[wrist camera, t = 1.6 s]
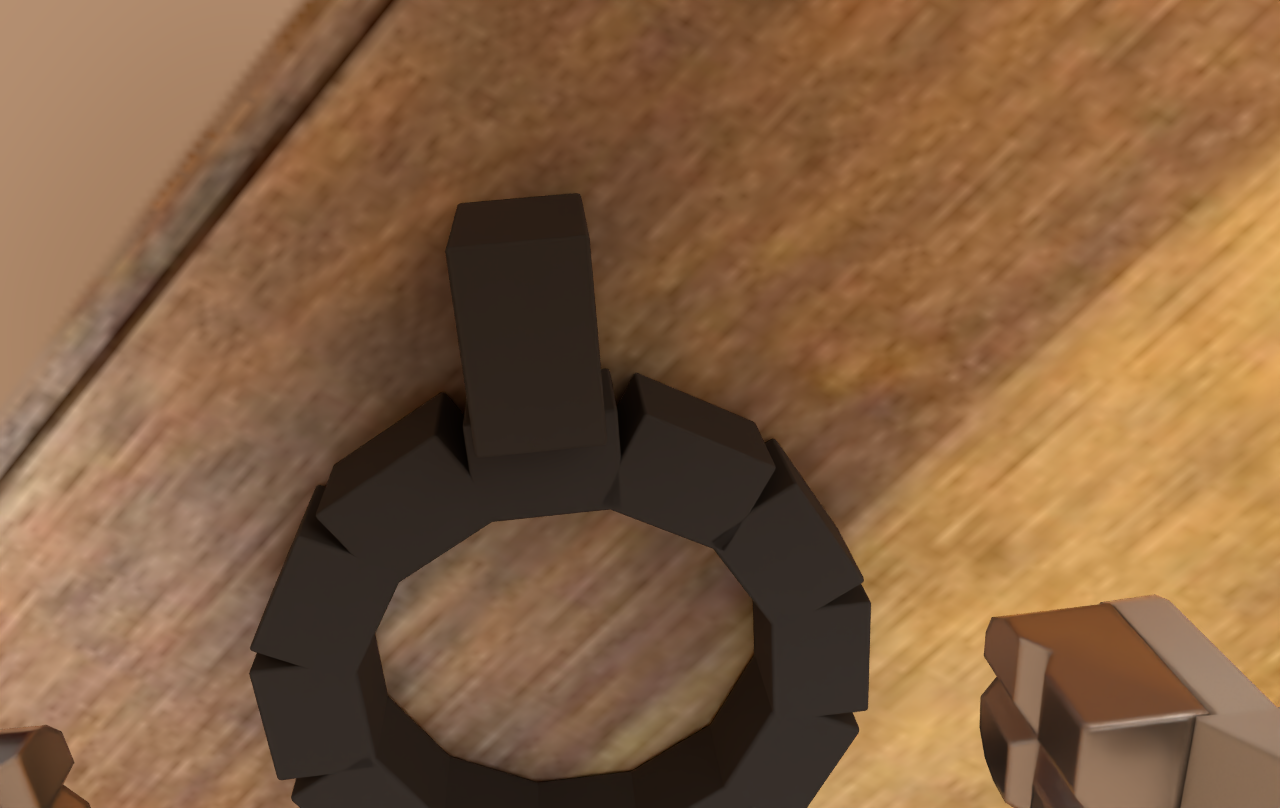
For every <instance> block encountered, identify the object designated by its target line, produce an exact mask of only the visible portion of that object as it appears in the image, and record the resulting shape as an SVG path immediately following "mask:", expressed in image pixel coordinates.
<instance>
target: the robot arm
mask: <svg viewBox="0 0 1280 808" xmlns="http://www.w3.org/2000/svg"><path fill="white" fill-rule="evenodd" d="M984 657H985V658H986V660H987V662H988V663H989V665H990V666H991V668H992V669H993V671H994V673H995V674H996V676H997V677H996V678H995V679H994V681H993V682H992V683H991V684H990V686H989V687H988V688H987V689H986V690H985V692H984V693H983V694H982V695H981V703H980V732H981V738H982V744H983V750H984V756H985V759H986V762H987V765H988V768H989V770H990V773H991V776H992V779H993V781H994V783H995V785H996V786H997V788H998V790H999V792H1000V794H1001V796H1002V798H1003V799H1004V801H1005V803H1007V804H1009V805H1010V806H1012V807H1014V808H1280V707H1276V706H1275V705H1274V704H1273V703H1272V702H1271V701H1270V700H1269V699H1268V698H1267V697H1266V696H1265V695H1264V694H1263V693H1262V692H1261V691H1260V690H1259V689H1258V688H1257V687H1256V686H1255V685H1254V684H1253V683H1252V682H1251V681H1250V680H1249V679H1248V678H1247V677H1246V676H1245V675H1244V674H1243V673H1242V672H1241V671H1240V670H1239V669H1238V668H1237V667H1236V666H1235V665H1234V664H1233V663H1232V662H1231V661H1230V660H1229V659H1228V658H1227V657H1226V656H1225V655H1224V654H1223V653H1222V652H1221V651H1220V650H1219V649H1218V648H1217V647H1216V646H1215V645H1214V644H1213V643H1212V642H1211V641H1210V640H1209V639H1208V638H1207V637H1206V636H1205V635H1204V634H1203V633H1201V632H1200V631H1199V630H1198V629H1197V628H1196V627H1195V626H1194V625H1193V624H1192V623H1191V622H1190V621H1189V620H1188V619H1187V618H1186V617H1185V616H1184V615H1183V614H1182V613H1181V612H1180V611H1179V610H1178V609H1177V608H1176V607H1175V606H1174V605H1173V604H1172V603H1171V602H1170V601H1169V600H1167V599H1165V598H1162V597H1160V596H1157V595H1148V596H1141V597H1134V598H1127V599H1120V600H1113V601H1106V602H1101V603H1100V604H1099V605H1090V606H1082V607H1074V608H1065V609H1057V610H1049V611H1040V612H1032V613H1024V614H1016V615H1007V616H999V617H992V618H991V621H990V623H989V626H988V628H987V631H986V636H985V648H984ZM73 764H74V760H73V758H72V755H71V753H70V750H69V748H68V746H67V743H66V741H65V738H64V736H63V734H62V732H61V731H59V730H57V729H54V728H52V727H50V726H48V725H41V726H30V727H19V728H9V729H0V808H91V807H90V805H89V803H88V802H87V801H86V800H84V799H83V798H81V797H80V796H78V795H77V794H76V793H74V792H73V791H71V790H70V789H69V788H67V787H66V786H64V785H63V784H64V782H65V780H66V778H67V776H68V774H69V772H70V770H71V768H72V766H73Z"/></svg>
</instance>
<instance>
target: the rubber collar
mask: <svg viewBox="0 0 1280 808" xmlns="http://www.w3.org/2000/svg"><path fill="white" fill-rule="evenodd" d="M445 253H446V260H447V266H448V273H449V280H450V287H451V294H452V301H453V308H454V314H455V321H456V328H457V335H458V342H459V349H460V356H461V362H462V369H463V376H464V383H465V390H466V397H467V399H466V406H465V414H464V415H463V414H462V413H461V411H460V410H459V409H458V408H457V407H456V405H455V404H454V403H453V402H452V401H451V400H450V398H449V397H448V396H447V395H446V394H445V393H444V392H442V393H440V394H438V395H437V396H435V397H434V398H432V399H431V400H429V401H428V402H426V403H425V404H423V405H422V406H420V407H419V408H418V409H416V410H415V411H413V412H412V413H410V414H409V415H407V416H406V417H404V418H403V419H401V420H400V421H398V422H397V423H395V424H394V425H393V426H391V427H390V428H388V429H387V430H385V431H384V432H382V433H381V434H379V435H378V436H376V437H375V438H373V439H372V440H370V441H369V442H368V443H366V444H365V445H363V446H362V447H360V448H359V449H357V450H356V451H354V452H353V453H351V454H350V455H348V456H347V457H345V458H344V459H342V460H341V461H340V462H338V463H337V464H335V465H334V467H333V469H332V472H331V475H330V477H329V480H328V483H327V485H326V487H324V486H321V485H317V486H316V488H315V490H314V493H313V495H312V498H311V500H310V502H309V505H308V507H307V510H306V512H305V514H304V517H303V519H302V521H301V524H300V526H299V529H298V531H297V533H296V536H295V538H294V541H293V543H292V545H291V548H290V550H289V553H288V555H287V557H286V560H285V562H284V564H283V567H282V569H281V572H280V574H279V576H278V579H277V581H276V584H275V586H274V588H273V591H272V593H271V596H270V598H269V601H268V603H267V606H266V609H265V611H264V614H263V616H262V619H261V621H260V624H259V626H258V629H257V631H256V634H255V636H254V639H253V642H252V644H251V647H250V649H251V651H254V652H257V654H256V657H255V659H254V662H253V664H252V667H251V670H250V673H249V674H250V678H251V682H252V685H253V689H254V693H255V697H256V700H257V704H258V708H259V711H260V715H261V719H262V722H263V726H264V730H265V734H266V737H267V741H268V745H269V748H270V752H271V756H272V760H273V763H274V767H275V771H276V774H277V778H278V779H279V780H286V779H294V778H296V781H295V785H294V789H293V792H292V796H291V799H292V801H293V802H294V803H295V804H297V805H298V806H299V807H300V808H807V807H808V806H809V804H810V803H811V801H812V800H813V798H814V797H815V795H816V794H817V792H818V791H819V790H820V788H821V787H822V785H823V784H824V782H825V781H826V779H827V778H828V776H829V775H830V773H831V772H832V771H833V769H834V768H835V766H836V765H837V763H838V762H839V760H840V759H841V757H842V756H843V755H844V753H845V752H846V750H847V749H848V747H849V746H850V744H851V743H852V741H853V740H854V739H855V737H856V736H857V734H858V732H859V727H858V724H857V722H856V720H855V717H854V715H853V712H858V711H866V710H867V709H868V690H869V655H870V620H871V602H870V600H869V598H868V596H867V594H866V592H865V591H864V589H863V587H862V585H861V583H862V582H863V581H864V579H863V576H862V574H861V572H860V570H859V568H858V566H857V565H856V563H855V561H854V559H853V557H852V555H851V553H850V551H849V549H848V547H847V546H846V544H845V542H844V540H843V538H842V536H841V534H840V532H839V530H838V528H837V527H836V526H835V524H834V523H833V521H832V520H831V518H830V517H829V516H828V514H827V513H826V511H825V510H824V508H823V507H822V505H821V504H820V503H819V501H818V500H817V498H816V497H815V495H814V494H813V492H812V491H811V490H810V488H809V487H808V485H807V484H806V482H805V481H804V480H803V478H802V477H801V475H800V474H799V472H798V471H797V469H796V468H795V467H794V465H793V464H792V462H791V461H790V459H789V458H788V456H787V455H786V454H785V452H784V451H783V449H782V448H781V446H780V445H779V443H778V442H777V441H776V440H775V439H771V440H770V441H768V442H766V443H764V441H763V439H762V437H761V435H760V432H759V430H758V428H757V426H756V424H755V423H754V422H752V421H750V420H747V419H745V418H743V417H740V416H738V415H736V414H733V413H731V412H729V411H726V410H724V409H721V408H719V407H717V406H714V405H712V404H710V403H707V402H705V401H702V400H700V399H698V398H695V397H693V396H691V395H688V394H686V393H683V392H681V391H679V390H676V389H674V388H672V387H669V386H667V385H665V384H662V383H660V382H657V381H655V380H653V379H650V378H648V377H646V376H643V375H641V374H638V373H635V374H634V375H633V377H632V379H631V381H630V383H629V385H628V387H627V389H626V390H625V392H624V394H623V396H622V398H621V400H620V402H619V404H618V406H617V407H616V402H615V396H614V391H613V386H612V380H611V375H610V371H609V369H601V363H600V352H599V340H598V329H597V317H596V306H595V295H594V283H593V272H592V260H591V249H590V238H589V233H588V228H587V223H586V218H585V213H584V208H583V204H582V199H581V196H580V194H578V193H574V194H562V195H551V196H539V197H528V198H517V199H505V200H494V201H482V202H471V203H460V204H458V206H457V209H456V213H455V217H454V221H453V224H452V228H451V232H450V235H449V239H448V243H447V246H446V250H445ZM608 509H611V510H613V511H616V512H619V513H621V514H624V515H626V516H629V517H632V518H634V519H637V520H639V521H642V522H645V523H647V524H650V525H653V526H655V527H658V528H660V529H663V530H666V531H668V532H671V533H674V534H676V535H679V536H681V537H684V538H687V539H689V540H692V541H695V542H697V543H700V544H702V545H705V546H708V547H710V548H713V549H714V550H715V552H716V553H717V554H718V555H719V557H720V558H721V559H722V561H723V562H724V563H725V565H726V566H727V567H728V569H729V570H730V571H731V572H732V574H733V575H734V576H735V578H736V579H737V580H738V582H739V583H740V584H741V585H742V587H743V588H744V589H745V591H746V592H747V593H748V595H749V596H750V597H751V598H752V600H753V620H754V656H753V657H752V659H751V661H750V662H749V664H748V665H747V667H746V669H745V670H744V672H743V673H742V675H741V677H740V678H739V680H738V681H737V683H736V685H735V686H734V688H733V689H732V691H731V693H730V694H729V696H728V697H727V699H726V701H725V702H724V704H723V705H722V707H721V709H720V710H719V712H718V713H717V715H716V717H715V718H714V720H713V721H712V723H711V724H710V725H709V726H707V727H705V728H704V729H702V730H700V731H699V732H697V733H695V734H694V735H692V736H690V737H689V738H687V739H685V740H683V741H682V742H680V743H678V744H677V745H675V746H673V747H672V748H670V749H668V750H667V751H665V752H663V753H661V754H660V755H658V756H656V757H655V758H653V759H651V760H650V761H648V762H646V763H645V764H643V765H641V766H639V767H638V768H636V769H634V770H633V771H629V772H621V773H613V774H605V775H596V776H588V777H580V778H572V779H563V780H555V781H547V782H539V783H537V782H534V781H530V780H527V779H524V778H520V777H517V776H514V775H510V774H507V773H504V772H501V771H497V770H494V769H491V768H487V767H484V766H481V765H477V764H474V763H471V762H467V761H464V760H461V759H457V758H454V757H451V756H449V755H448V754H447V753H446V752H445V751H444V750H442V749H441V748H440V747H439V746H438V745H437V744H436V743H435V742H434V741H433V740H432V739H431V738H430V737H429V736H428V735H427V734H426V733H425V732H424V731H423V730H422V729H421V728H420V727H419V726H418V725H417V724H416V723H415V722H414V721H413V720H412V719H411V718H410V717H409V716H408V715H407V714H406V713H405V712H404V711H403V710H402V709H401V708H400V707H399V706H398V705H397V704H396V703H394V702H393V701H392V700H391V699H390V698H389V697H388V695H387V690H386V685H385V680H384V676H383V671H382V666H381V661H380V656H379V651H378V646H377V642H376V637H375V632H376V630H377V628H378V626H379V624H380V622H381V619H382V617H383V615H384V613H385V611H386V609H387V607H388V604H389V602H390V600H391V598H392V596H393V594H394V592H395V589H396V587H397V585H398V583H399V582H400V581H402V580H403V579H405V578H406V577H408V576H409V575H411V574H413V573H414V572H416V571H417V570H419V569H420V568H422V567H423V566H425V565H426V564H428V563H429V562H431V561H432V560H434V559H436V558H437V557H439V556H440V555H442V554H443V553H445V552H446V551H448V550H449V549H451V548H452V547H454V546H456V545H457V544H459V543H460V542H462V541H463V540H465V539H466V538H468V537H469V536H471V535H472V534H474V533H476V532H477V531H479V530H480V529H482V528H483V527H485V526H486V525H488V524H489V523H491V522H495V521H505V520H514V519H523V518H533V517H542V516H552V515H561V514H571V513H580V512H589V511H599V510H608Z"/></svg>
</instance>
